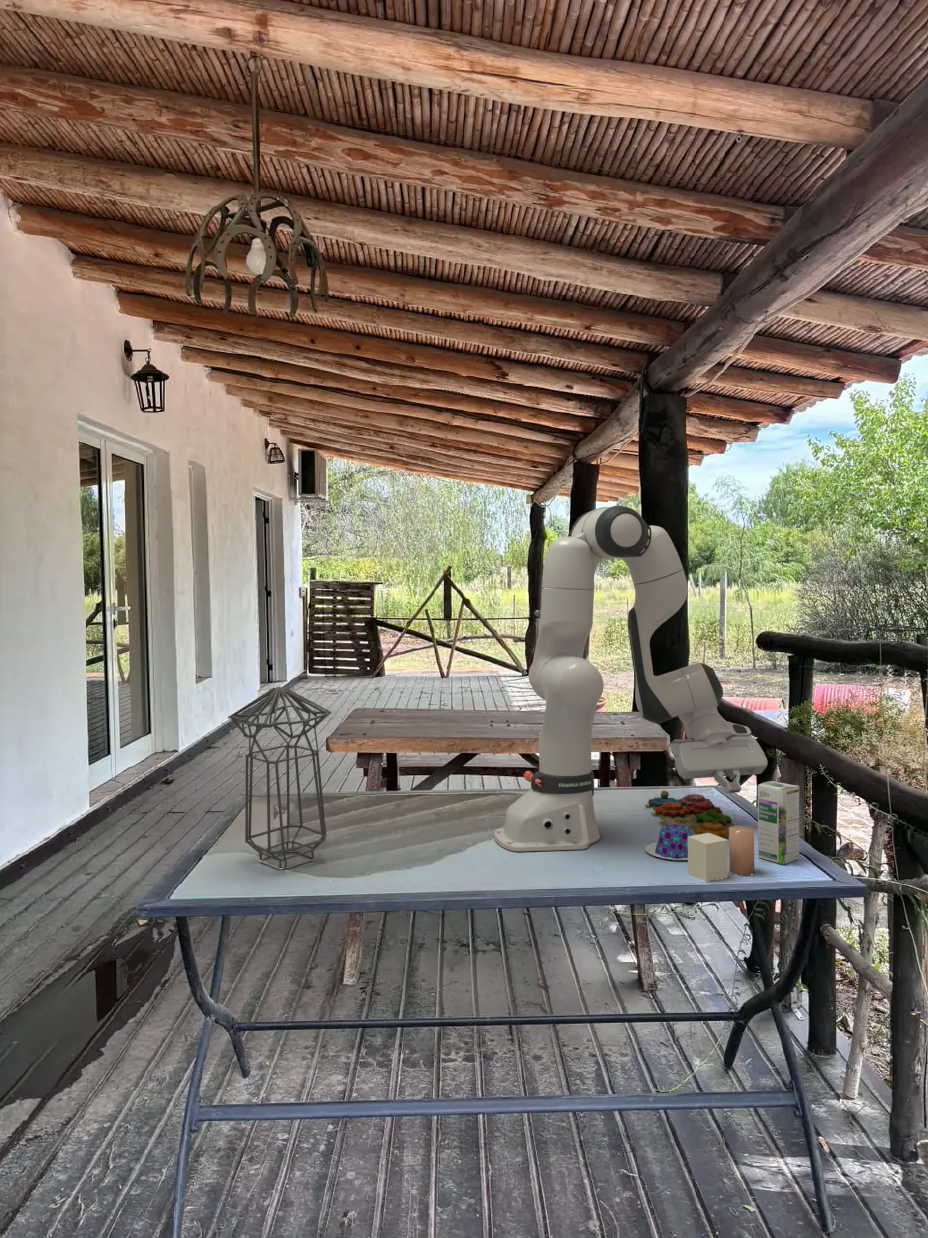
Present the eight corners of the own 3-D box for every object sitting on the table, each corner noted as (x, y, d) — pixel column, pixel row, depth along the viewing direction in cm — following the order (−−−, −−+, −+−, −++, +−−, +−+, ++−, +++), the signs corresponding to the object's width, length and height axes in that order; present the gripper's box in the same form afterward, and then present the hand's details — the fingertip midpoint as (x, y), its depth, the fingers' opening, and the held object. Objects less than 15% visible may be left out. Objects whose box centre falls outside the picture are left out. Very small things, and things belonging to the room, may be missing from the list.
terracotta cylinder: (738, 877, 150) (737, 833, 150) (724, 869, 155) (724, 827, 154) (759, 874, 151) (759, 831, 151) (745, 867, 156) (745, 825, 155)
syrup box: (756, 858, 161) (756, 784, 160) (774, 852, 164) (773, 779, 164) (783, 865, 156) (782, 789, 155) (800, 859, 159) (800, 784, 159)
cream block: (706, 882, 148) (705, 844, 148) (687, 874, 153) (687, 836, 152) (728, 878, 150) (727, 840, 150) (709, 869, 155) (709, 832, 154)
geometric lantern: (341, 860, 164) (335, 685, 162) (272, 883, 153) (264, 695, 151) (297, 843, 175) (291, 679, 173) (229, 863, 164) (222, 688, 162)
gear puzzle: (752, 842, 172) (752, 823, 172) (675, 844, 172) (675, 824, 172) (706, 803, 203) (706, 787, 203) (641, 805, 203) (640, 788, 203)
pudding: (645, 862, 160) (645, 835, 160) (644, 843, 172) (644, 818, 172) (710, 865, 158) (709, 838, 158) (704, 845, 170) (704, 820, 170)
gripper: (671, 731, 178) (695, 786, 169) (755, 726, 183) (782, 780, 174) (662, 748, 183) (684, 803, 174) (744, 743, 188) (769, 796, 179)
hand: (734, 791), depth 174 cm, fingers closed
